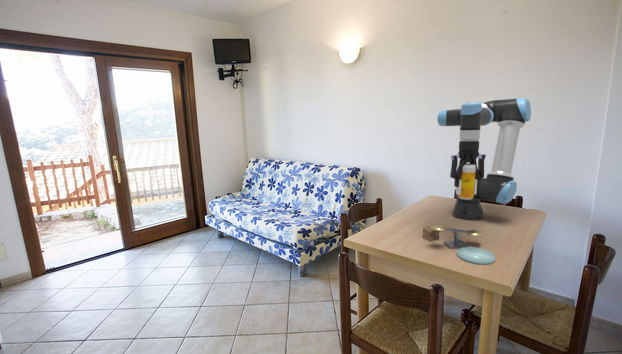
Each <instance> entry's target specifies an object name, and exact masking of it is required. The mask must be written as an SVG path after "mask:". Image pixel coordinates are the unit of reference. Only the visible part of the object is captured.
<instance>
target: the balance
mask: <svg viewBox="0 0 622 354" xmlns="http://www.w3.org/2000/svg"><path fill="white" fill-rule="evenodd" d="M430 226H431V229H432V230H434V231H439V232H445V231H447V232H452V234H453V240H443V245H445V246H446V247H447V248H448V249H449V250H456V249H457V250H458V249H460V248H463V247H470V246H469V244H468V243H466V242H465V241H463V240H462V239H459V234H460V233H462V234H467V235H468V236H471V237H475V238H476V237H482V236H483V234H484V233H483V231H480V230H477V229H469V230H463V229H457V228H455V227H453V228H449V227H446V226H444V225H441V224H433V225H430Z"/></svg>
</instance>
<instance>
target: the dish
mask: <svg viewBox="0 0 622 354" xmlns="http://www.w3.org/2000/svg"><path fill="white" fill-rule="evenodd" d="M456 256H457V257H458V258H459V259H461V260H463V262H467V263H469V264H474V265H491V264H493V263H495V261H496V255H495V254H494V253H493V252H491V251H490V250H487V249H484V248H481V247H474V246H469V247H463V248H459V249H457V253H456Z"/></svg>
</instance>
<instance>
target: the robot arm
mask: <svg viewBox="0 0 622 354" xmlns="http://www.w3.org/2000/svg"><path fill="white" fill-rule="evenodd" d="M531 117H532V109H531V103H530V101H529V99H527V98H526V97H522V98H521V97H520V98H519V97H516V98H506V99H505V98H504V99H494V100H489V101H485V102H479V101H478V102H476V101H475V102H463V104H461V107H460V108H455V109H446V110H445V109H444V110H440V111H439V112H438V114H437V124H438V125H439V126H440V127H459V141H458V153H457V154H452V155H450V156H451V158H450V159H451V166H450V173H449V174H450V176H449V177H450V178H451V179H454V183H453V184H454V185H453V186H454V187H455V194H456V201H455V203H454V207H453V209H452V213H451V214H452V216H453V217H455V218H458V219H461V220H470V221H474V220H477V221H478V220H482V219H483V218H484V210H483V208H482V205H481V201H488V202H494V203H496V204H497V203H498V204H499V203H500V204H508V203H510V202H512V200H513V199H514V197H515V195H516V192H517V186H518V184H517V182H516V181H515V180H514V176H513V175H512V171H513V165H514V160H515V154H516V150H517V144H518V139H519V137H520V136H519V135H520V130H521V128H523V127H524V126H525V124H526V123H527V122H529V121H530V120H531ZM490 123H497V126H498V127H499V131H498V137H497V141H496V146H495V151H494V156H493V161H492V166H491V171H490V172H489V173H487V174H486V177H485V159H486V154H483V153H480V151H479V149H480V139H481V126H483V127H484V126H486V125H489V124H490ZM458 160H459V162H458ZM466 163H470V164H472V165H474V164H475V166H476V171H475V186H474V197H473V198H472V199H470V200H465V199H460V198H459V197H458V195H461V181H462V180H460V177H461V174H462V171H463V166H464V165H466Z"/></svg>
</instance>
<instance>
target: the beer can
mask: <svg viewBox="0 0 622 354" xmlns="http://www.w3.org/2000/svg"><path fill="white" fill-rule="evenodd" d="M475 171H476V166H475V164H474V165H472V164H470V162H468V163H466V165H464V166H463V171H462V174H461V177H460V180H462V181H461V195H458V197H459V198H460V199H465V200H470V199H472V198H473V197H474V186H475Z"/></svg>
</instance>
